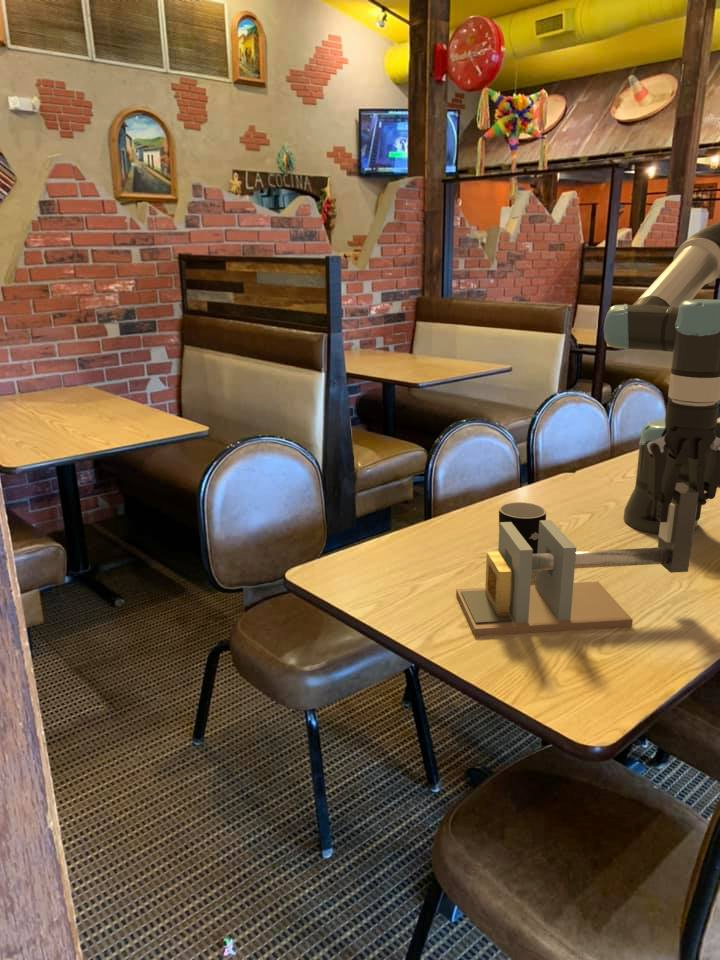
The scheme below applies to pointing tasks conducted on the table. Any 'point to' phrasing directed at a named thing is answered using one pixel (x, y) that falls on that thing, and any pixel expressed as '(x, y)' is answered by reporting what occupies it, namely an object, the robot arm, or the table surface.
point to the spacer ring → (498, 583)
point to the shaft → (666, 554)
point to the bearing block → (542, 591)
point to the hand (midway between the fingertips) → (675, 538)
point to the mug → (524, 520)
